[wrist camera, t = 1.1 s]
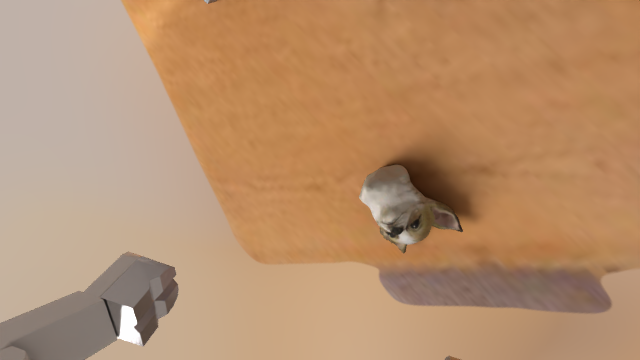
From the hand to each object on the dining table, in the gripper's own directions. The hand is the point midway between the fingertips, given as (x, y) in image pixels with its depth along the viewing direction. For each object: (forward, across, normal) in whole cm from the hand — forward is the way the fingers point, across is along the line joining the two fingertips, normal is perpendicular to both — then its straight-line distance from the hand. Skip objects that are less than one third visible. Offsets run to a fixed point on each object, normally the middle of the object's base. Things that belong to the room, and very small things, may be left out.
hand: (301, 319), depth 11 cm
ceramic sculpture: (+38, -5, +21) cm, 43 cm away
